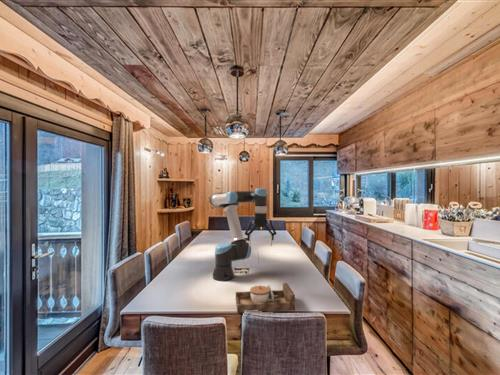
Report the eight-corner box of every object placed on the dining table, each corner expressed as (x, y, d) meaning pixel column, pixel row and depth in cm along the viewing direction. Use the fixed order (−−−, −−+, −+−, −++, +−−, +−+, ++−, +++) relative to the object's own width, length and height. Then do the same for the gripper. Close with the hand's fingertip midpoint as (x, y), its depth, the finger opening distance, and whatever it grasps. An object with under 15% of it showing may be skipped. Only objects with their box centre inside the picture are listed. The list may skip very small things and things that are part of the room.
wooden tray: (237, 313, 132) (237, 297, 132) (235, 299, 148) (235, 285, 148) (294, 310, 135) (294, 294, 135) (287, 296, 151) (287, 283, 151)
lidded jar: (268, 298, 147) (268, 282, 147) (270, 307, 136) (270, 290, 136) (249, 299, 146) (249, 282, 146) (250, 308, 136) (250, 290, 136)
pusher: (271, 307, 135) (271, 295, 135) (267, 297, 148) (267, 285, 148) (281, 307, 136) (281, 294, 136) (276, 296, 149) (276, 285, 149)
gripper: (241, 213, 161) (241, 247, 161) (281, 213, 163) (280, 246, 163) (240, 212, 168) (240, 244, 168) (278, 211, 170) (278, 244, 171)
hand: (260, 245), depth 166 cm, fingers open, 13 cm apart
